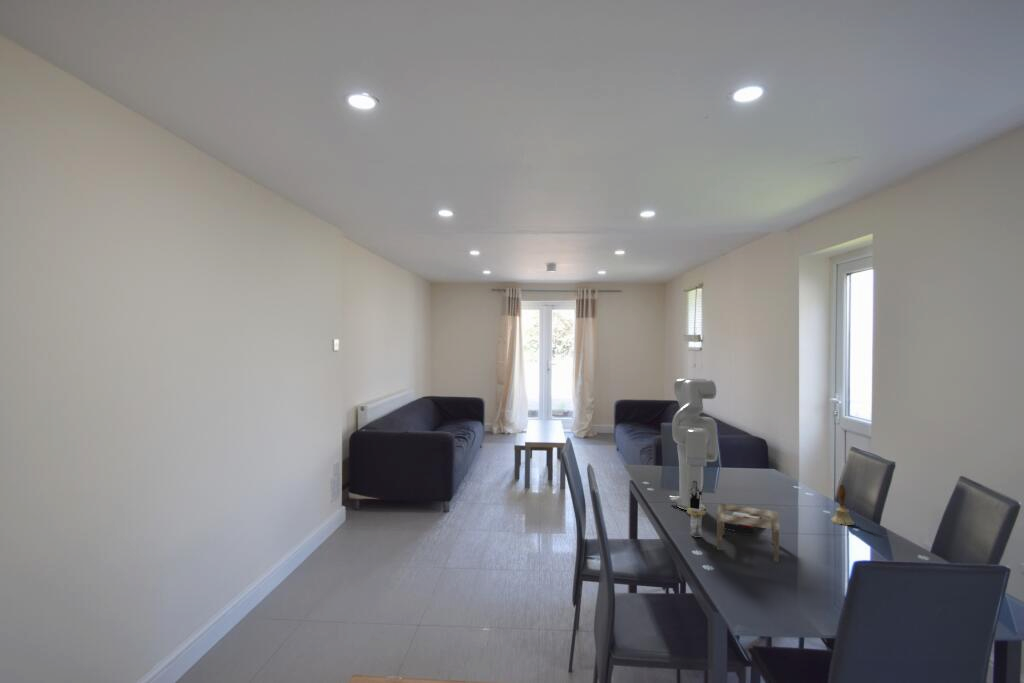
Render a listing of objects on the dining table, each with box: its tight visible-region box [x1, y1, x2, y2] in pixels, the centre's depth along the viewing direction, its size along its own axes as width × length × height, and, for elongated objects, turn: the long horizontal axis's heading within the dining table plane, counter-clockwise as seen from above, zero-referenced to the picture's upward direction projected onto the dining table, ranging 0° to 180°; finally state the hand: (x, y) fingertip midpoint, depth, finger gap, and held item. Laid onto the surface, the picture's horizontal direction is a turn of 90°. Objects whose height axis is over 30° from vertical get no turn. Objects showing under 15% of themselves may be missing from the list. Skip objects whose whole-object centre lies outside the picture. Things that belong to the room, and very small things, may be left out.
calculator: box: [724, 512, 762, 536], centre depth 192 cm, size 11×4×15 cm
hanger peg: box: [686, 494, 707, 536], centre depth 182 cm, size 7×7×16 cm
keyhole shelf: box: [715, 502, 781, 563], centre depth 172 cm, size 20×18×12 cm
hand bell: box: [830, 483, 855, 526], centre depth 198 cm, size 8×8×16 cm
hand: (696, 504), depth 182 cm, fingers open, 9 cm apart
